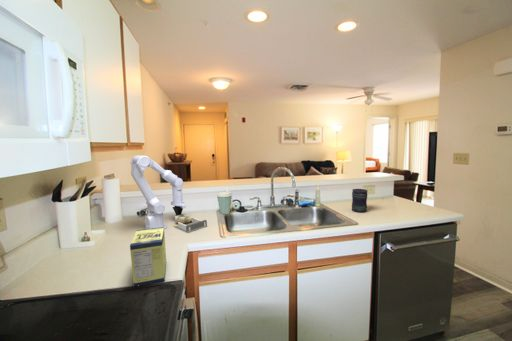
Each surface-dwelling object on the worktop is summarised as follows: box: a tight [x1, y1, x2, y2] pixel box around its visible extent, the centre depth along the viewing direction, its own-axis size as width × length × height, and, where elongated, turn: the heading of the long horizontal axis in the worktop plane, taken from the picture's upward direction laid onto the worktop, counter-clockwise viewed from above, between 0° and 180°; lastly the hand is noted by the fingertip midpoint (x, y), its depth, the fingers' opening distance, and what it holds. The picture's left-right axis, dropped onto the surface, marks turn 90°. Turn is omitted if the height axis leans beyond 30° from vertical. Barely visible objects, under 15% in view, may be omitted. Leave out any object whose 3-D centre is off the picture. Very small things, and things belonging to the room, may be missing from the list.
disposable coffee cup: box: [216, 190, 233, 215], centre depth 165 cm, size 11×11×15 cm
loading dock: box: [172, 217, 208, 234], centre depth 141 cm, size 13×17×5 cm
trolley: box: [174, 213, 194, 225], centre depth 145 cm, size 7×9×5 cm
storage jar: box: [351, 188, 368, 214], centre depth 165 cm, size 10×10×15 cm
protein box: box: [129, 227, 167, 287], centre depth 90 cm, size 10×16×16 cm
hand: (178, 217), depth 148 cm, fingers closed
